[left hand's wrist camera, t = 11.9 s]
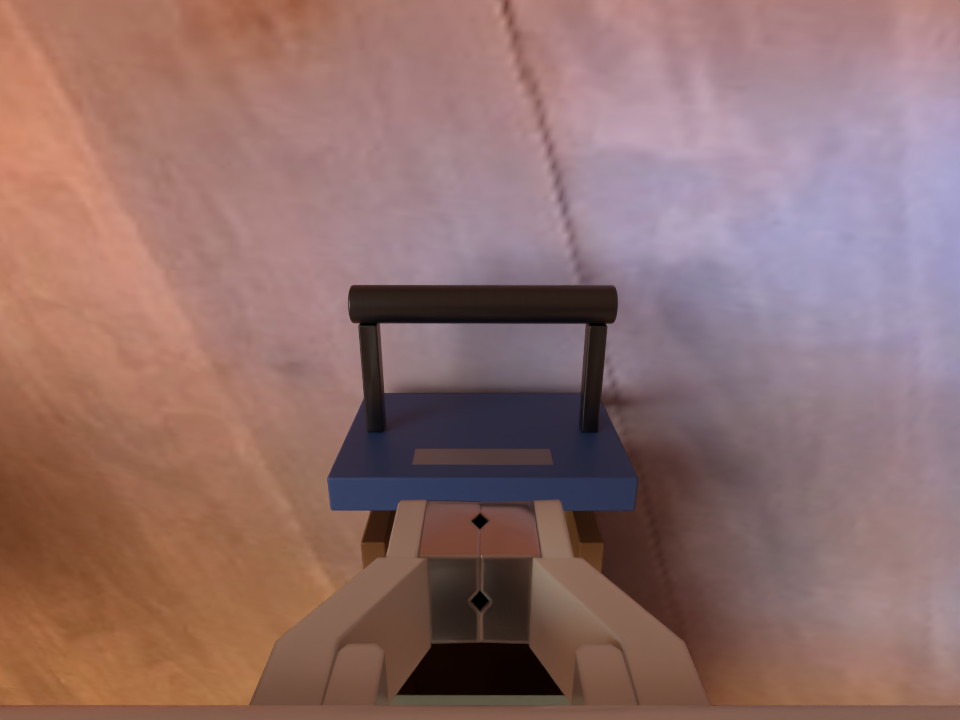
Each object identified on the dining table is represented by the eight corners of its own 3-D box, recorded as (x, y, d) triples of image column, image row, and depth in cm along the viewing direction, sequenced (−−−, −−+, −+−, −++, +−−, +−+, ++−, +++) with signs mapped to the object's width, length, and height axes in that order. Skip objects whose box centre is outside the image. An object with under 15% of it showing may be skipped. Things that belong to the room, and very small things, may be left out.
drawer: (355, 265, 21) (307, 312, 15) (609, 266, 21) (659, 313, 15) (391, 713, 29) (368, 854, 23) (571, 713, 29) (593, 855, 23)
